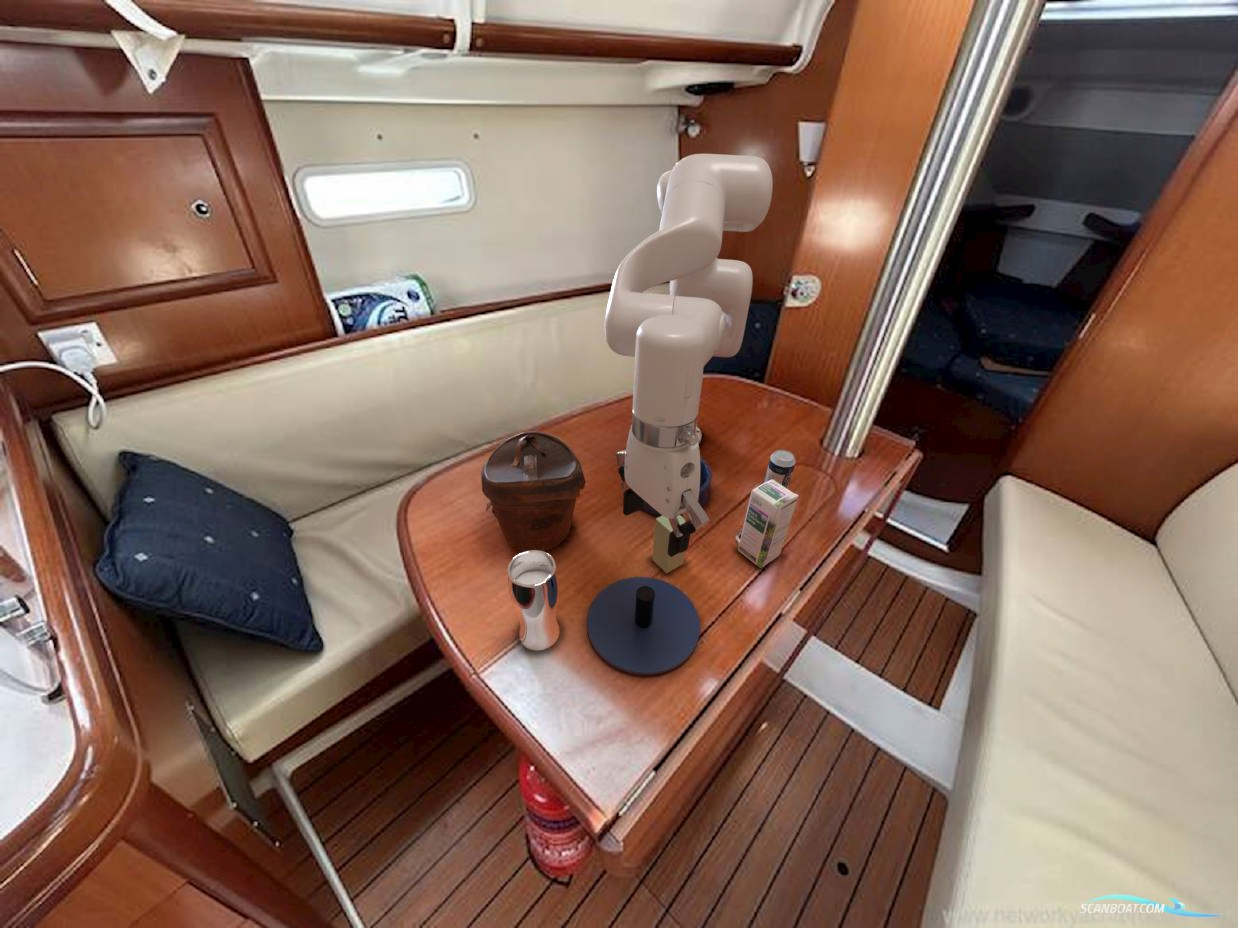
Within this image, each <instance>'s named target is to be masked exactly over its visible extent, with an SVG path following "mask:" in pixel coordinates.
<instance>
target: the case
mask: <svg viewBox="0 0 1238 928" xmlns="http://www.w3.org/2000/svg"><path fill="white" fill-rule="evenodd" d="M480 480H481V481H480V483H481V492H482V493H483V495H484V496H485V497H486V498H487V499H488V500H489V502H488V503H486V507H485V508H486V509H485V511H486V512H488V510H489V509H490V507H491V508H492V509H491V512H492V514H493V515H494V518H495V519H496V520H497V522H498V525H499V527H500V529H501V531H502V534H503V536H504V539H505V540H506V542H507V543H508V544H509V545H510V546H511V547H513V548H514V549H516V550H518V551H522V552H525V551H529V550H540V551H544V552H546V551H549V550H551V549H553V548H555V547H558V546H559V545H560V544H561V543H562V542H563V541H564V540H565V539H566V538H567V537H568V535H569V533H570V530H571V527H572V523H573V517H574V511H575V506H576V504H577V503H576V502H577V499H578V498H579V497H580V496H581V493H580V491H581V490H584V489H585V488H586V483H587V482H586V478H585V474H584V470H583V467H582V464H581V462H580V460H579V458H578V456H576V454H575V452H574V451H573V449H572V448H571V447H570V445H568V444H567V443H566V442H565V441H564V440H563V439H562V438H560V437H558V436H556V435H554V434H553V433H548V432H545V431H540V430H533V431H523V432H520V433H518V434H514V435H513V436H511V437H509V438H508V439H506V440H504V441H503V442H502V443H500V444H499V445H498V446H497V447H496V448H495V449H494V450H493V451H492V452H491V454H490V455H489V457H488V458H487V460H486V461H485V463H484V464H483V465H482V467H481V479H480Z"/></svg>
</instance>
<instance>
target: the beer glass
mask: <svg viewBox="0 0 1238 928" xmlns="http://www.w3.org/2000/svg"><path fill="white" fill-rule="evenodd" d="M506 572H507V584H508V595H509V598H510V602H511V605H512V608H513V609H514V612H515V614H516V616H517V618H518V620H519V625H520V626H519V632H518V633H519V635H518V636H519V641H520V642H521V644H522V645H523V646H524V647H525V648H527V649H528V650H531V651H537V652H539V651H540V652H541V651H545V650H546V649H550V648H551V647H552V646H554V644H555V643H556V642H557V641H558V640H559V637H560V626H559V623H558V621H557V617H556V615H557V609H558V603H559V596H560V582H559V575H558V570H557V563H556V561H555V559H554V557H553V555H551V554H550V553H548V552H546V551H540V550H529V551H522V552H520V553H518V554H516V555H515V556H514V557H513V558H512V559H511V560H510V561H509V562H508V566H507V571H506Z"/></svg>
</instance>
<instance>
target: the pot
mask: <svg viewBox="0 0 1238 928" xmlns="http://www.w3.org/2000/svg"><path fill="white" fill-rule="evenodd" d="M712 476H713V472H712V469H711V467H710V465H709V463H707V461H705V459H703V458H702V457H701V456H700V488H699V498H698V503H699V504H700V506H701V507H702V508H703V509H704V507H705V506H706V504H707V502H708V501H709V496H710V495H709V494H710V488H711V483H712V478H713V477H712ZM679 508H680V507H679ZM641 510H643V511H644V512H646V513H648V514H651V515H654V516H657V517H660V516H662V514H660V513H659V512H658V511H656V510H655V509H654V508H653V507H652V506H650V505H649V504H648V503H647V502H646V501H645V500H643V508H642V509H641ZM680 516H682V517H683V515H682V514H680ZM683 518H684V517H683Z"/></svg>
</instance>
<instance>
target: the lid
mask: <svg viewBox="0 0 1238 928" xmlns="http://www.w3.org/2000/svg"><path fill="white" fill-rule="evenodd" d="M586 629H587V635H588V638H589V641H590V643H591V645H592V647H593V649H594V650H595V651H596V653H597V654H598V655H599V656H600V657H601V659H603V660H604V661H605V662H606V663H608V664H609V665H611V666H613V667H614V668H616V669H618V670H621V671H622V672H625V673H628V674H634V675H641V676H653V675H660V674H663V673H667V672H669V671H672V670H674V669H676V668H677V667H679V666H681V665H682V664H683V663H685V662H686V661H687V660H688V659H689V658H690V657H691V655H693V653H694V651H695V649H696V647H697V645H698V642H699V639H700V633H701V621H700V617H699V613H698V610H697V609H696V607H695V605H694V603H693V602H692V600H691V599H690V598H689V597H688V596H687V594H685V593H684V592H683V591H682V590H681V589H680V588H678V587H676V586H675V585H673V584H672V583H669V582H667V581H664V580H661V579H658V578H654V577H648V576H647V577H646V576H634V577H633V576H632V577H627V578H623V579H620V580H617V581H614V582H613V583H610V584H609V585H607V586H605V588H603V589H602V590H601V591H600V592H599V593H597V595H596V596H595V597H594V599H593V600H592V602H591V604H590V606H589V609H588V612H587V617H586Z"/></svg>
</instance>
